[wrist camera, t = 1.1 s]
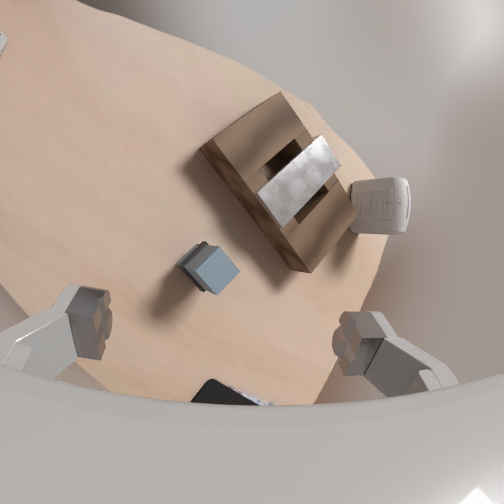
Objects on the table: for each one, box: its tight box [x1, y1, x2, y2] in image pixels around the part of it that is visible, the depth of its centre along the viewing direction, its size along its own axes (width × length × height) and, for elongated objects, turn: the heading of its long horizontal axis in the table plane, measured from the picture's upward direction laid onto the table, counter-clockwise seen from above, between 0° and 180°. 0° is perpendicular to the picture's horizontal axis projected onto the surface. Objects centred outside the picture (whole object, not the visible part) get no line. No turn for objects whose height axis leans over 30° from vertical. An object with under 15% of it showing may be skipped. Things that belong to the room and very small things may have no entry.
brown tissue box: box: [199, 92, 358, 273], centre depth 47 cm, size 24×14×5 cm, turn 41°
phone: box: [191, 379, 260, 406], centre depth 47 cm, size 7×1×15 cm
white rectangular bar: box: [254, 134, 341, 228], centre depth 46 cm, size 6×15×4 cm, turn 131°
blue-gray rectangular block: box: [177, 241, 240, 295], centre depth 40 cm, size 5×5×8 cm
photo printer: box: [349, 177, 411, 235], centre depth 53 cm, size 10×4×12 cm, turn 172°
